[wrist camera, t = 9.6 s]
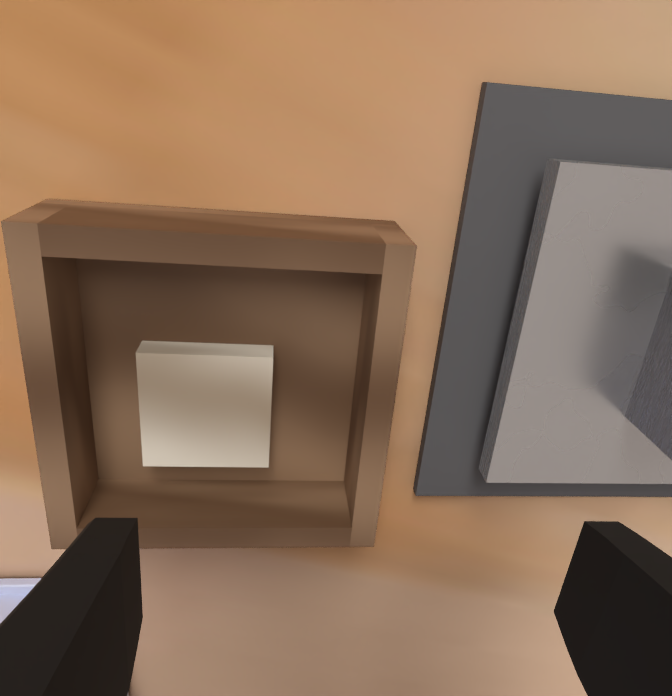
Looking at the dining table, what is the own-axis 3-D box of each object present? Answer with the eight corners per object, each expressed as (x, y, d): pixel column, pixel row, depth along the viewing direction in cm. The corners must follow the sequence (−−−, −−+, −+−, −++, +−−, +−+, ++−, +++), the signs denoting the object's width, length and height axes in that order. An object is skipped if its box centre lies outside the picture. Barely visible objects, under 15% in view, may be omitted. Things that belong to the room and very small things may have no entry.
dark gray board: (747, 490, 23) (754, 496, 23) (413, 488, 22) (415, 495, 21) (917, 124, 18) (930, 125, 17) (482, 82, 16) (487, 82, 16)
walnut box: (361, 488, 21) (373, 546, 19) (81, 486, 20) (51, 549, 17) (394, 221, 17) (416, 246, 15) (46, 198, 16) (1, 221, 13)
